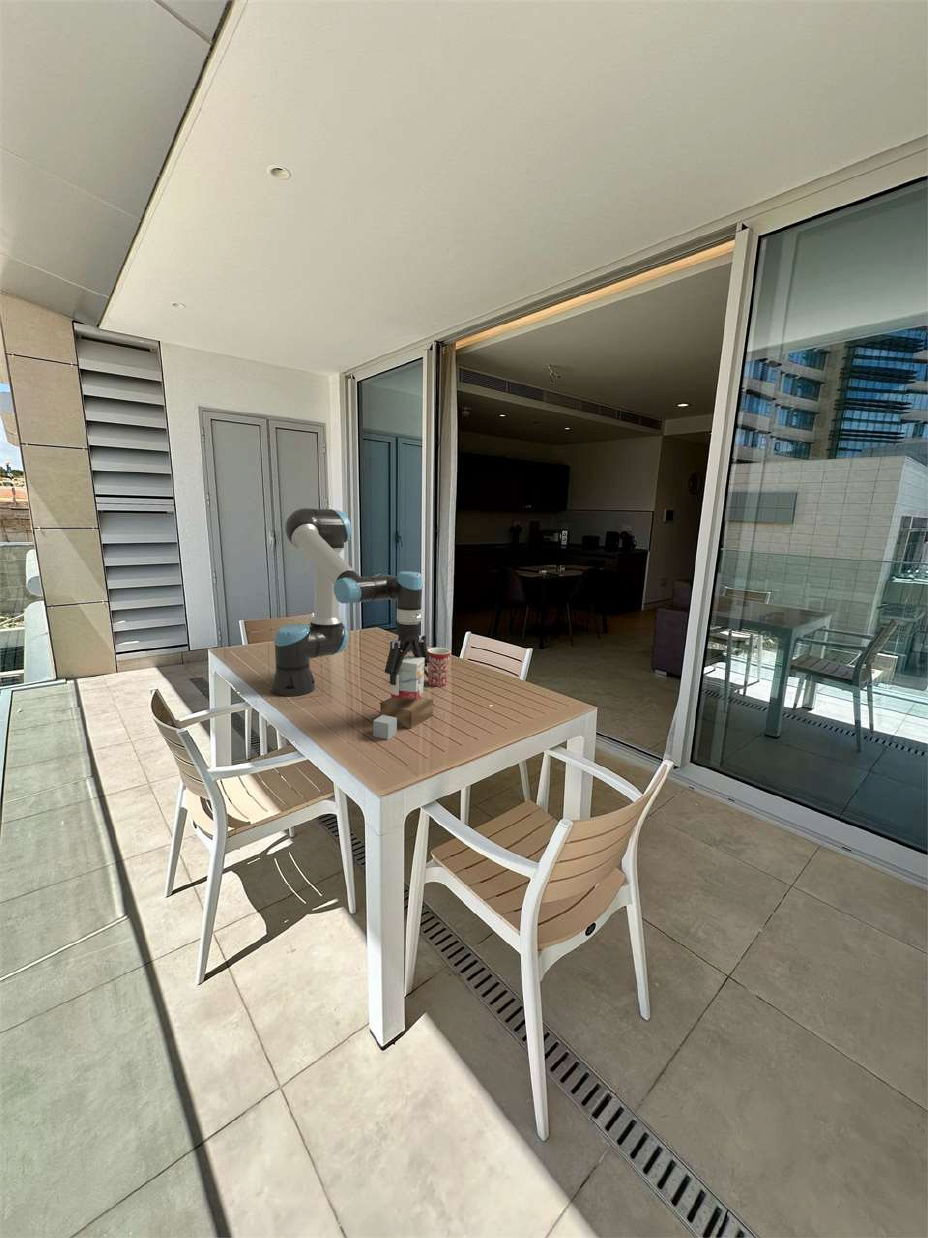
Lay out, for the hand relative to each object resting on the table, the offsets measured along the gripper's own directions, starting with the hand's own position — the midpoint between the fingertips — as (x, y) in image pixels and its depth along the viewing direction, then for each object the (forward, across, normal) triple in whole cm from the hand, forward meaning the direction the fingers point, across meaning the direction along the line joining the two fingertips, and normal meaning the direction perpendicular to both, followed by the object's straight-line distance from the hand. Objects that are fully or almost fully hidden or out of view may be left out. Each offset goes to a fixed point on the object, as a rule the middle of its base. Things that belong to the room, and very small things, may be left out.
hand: (407, 689), depth 159 cm
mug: (+10, +32, +16) cm, 37 cm away
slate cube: (+10, -14, -4) cm, 17 cm away
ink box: (+2, 0, 0) cm, 2 cm away
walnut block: (+10, 0, 0) cm, 10 cm away
